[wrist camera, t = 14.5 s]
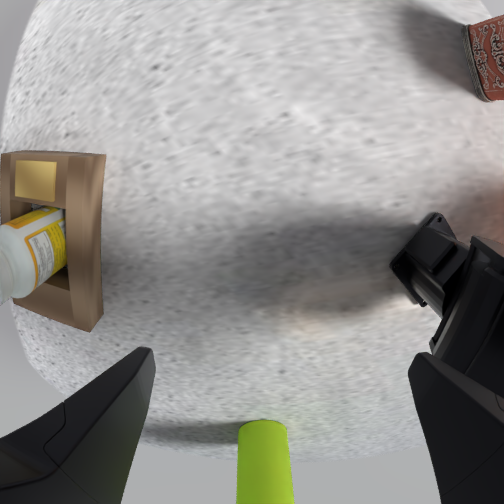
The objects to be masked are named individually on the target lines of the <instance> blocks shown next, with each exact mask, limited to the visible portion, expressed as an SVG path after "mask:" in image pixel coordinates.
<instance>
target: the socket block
mask: <svg viewBox="0 0 504 504" xmlns="http://www.w3.org/2000/svg"><path fill="white" fill-rule="evenodd" d="M105 162H106V155H104V154H92V153H78V152H60V151H32V150H22V151H15V152H9V153H3V154H1V164H0V211H1V225H2V224H5V223H7V222H9V221H11V220H14V219H16V218H18V217H20V216H23V215H25V214H27V213H30V212H31V203H34V204H39V205H45V206H51V207H57V208H63V209H66V248H67V264H68V270H67V269H64V268H61V269H60V270H58V271H57V272H56V273H55V274H53V275H52V276H51V277H50V278H48V279H47V280H46V281H45V282H43V283H42V284H41V285H40V286H38V287H37V288H36V289H35V290H34V291H33V292H31V293H30V294H29V295H27V296H26V297H23V298H13V297H12V298H13V302H14V304H16V305H19V306H21V307H23V308H25V309H28V310H30V311H33V312H35V313H37V314H40V315H42V316H45V317H47V318H50V319H53V320H55V321H58V322H61V323H63V324H66V325H69V326H72V327H75V328H77V329H80V330H83V331H86V332H89V333H90V332H91V330H92V329H93V328H94V326H95V325H96V323H97V322H98V321H99V319H100V318H101V317H102V315H103V314H104V313H103V300H102V284H101V210H102V194H103V181H104V171H105Z"/></svg>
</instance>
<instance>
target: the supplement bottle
mask: <svg viewBox="0 0 504 504" xmlns="http://www.w3.org/2000/svg"><path fill="white" fill-rule="evenodd" d="M66 264H67V248H66V209H63V208H57V207H51V206H45V207H42V208H40V209H37V210H35V211H32V212H30V213H27V214H25V215H23V216H20V217H18V218H16V219H14V220H11V221H9V222H7V223H5V224H2V225H0V305H2V304H3V303H4V302H5V301H7V300H8V299H9V298H10V297H13V298H23V297H26V296H27V295H29V294H30V293H31V292H33V291H34V290H35V289H36V288H37V287H38V286H40V285H41V284H42V283H43V282H45V281H46V280H47V279H48V278H50V277H51V276H52V275H53V274H55V273H56V272H57V271H58V270H60V269H61V268H62V267H64V266H65V265H66Z"/></svg>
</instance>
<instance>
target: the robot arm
mask: <svg viewBox="0 0 504 504" xmlns="http://www.w3.org/2000/svg"><path fill="white" fill-rule="evenodd" d="M438 217H439V220H438V221H437V219H438ZM470 243H471V245H470V247H468V246H467V245H465V244H463V243H462V242H460V241H458V240H457V239H456V237H455V235H454V233H453V232H452V230H451V228H450V226H449V225H448V223H447V221H446V220H445V218H444V216H443V215H442V214H440V213H435V214H434V215H433V217H432V218H431V219H430V220H429V221H428V222H427V223H426V225H425V226H423V228H422V229H421V230H420V231H419V232H418V233H417V234H416V235H415V237H414V238H413V239H412V240H411V241H410V242H409V243H408V244H407V245H406V247H405V248H404V249H403V250H402V251H401V252H400V253H399V254H398V255H397V256H396V258H395V259H394V260H393V261H392V262H391V263H390V269H391V270H392V271H393V273H394V274H395V275H396V276H397V277H398V279H399V280H400V281H401V282H402V283H403V285H404V286H405V287H406V288H407V290H408V291H409V292H410V293H411V295H412V296H413V297H414V298H415V300H416V301H417V302H418V303H419V305H420V306H421V307H425V306H426V305H427V304H428V305H429V306H430V307H431V308H432V309H433V310H434V311H435V312H436V313H437V314H438V315H439V317H440V318H441V319H442V321H441V323H440V325H439V327H438V329H437V331H436V333H435V335H434V337H432V338H431V340H430V342H429V345H430V349H431V352H432V355H431V354H429V353H428V352H422V353H418V354H416V356H415V358H414V360H413V362H412V364H411V366H410V368H409V370H408V378H409V382H410V386H411V390H412V394H413V398H414V403H415V407H416V410H417V414H418V417H419V420H420V423H421V426H422V429H423V433H424V436H425V439H426V443H427V446H428V449H429V453H430V457H431V461H432V464H433V468H434V472H435V476H436V481H437V485H438V489H439V493H440V499H441V504H504V244H501V243H498V242H495V241H492V240H488V239H485V238H482V237H478V236H475V235H472V238H471V241H470ZM396 264H397V267H396V268H394V266H395V265H396ZM424 300H425V301H424ZM423 301H424V302H423ZM155 372H156V367H155V361H154V355H153V351H152V349H151V348H147V347H138V348H136V349H135V350H134V351H132V352H131V353H130V354H128V355H127V356H125V357H124V358H123V359H121V360H120V361H119V362H117V363H116V364H114V365H113V366H112V367H110V368H109V369H108V370H106V371H105V372H103V373H102V374H101V375H99V376H98V377H96V378H95V379H94V380H92V381H91V382H90V383H88V384H87V385H85V386H84V387H83V388H81V389H80V390H78V391H77V392H76V393H74V394H73V395H71V396H70V397H69V398H67V399H66V400H65V401H64V402H62V403H60V404H59V405H57V406H56V407H54V408H53V409H52V410H50V411H48V412H47V413H46V414H44V415H42V416H41V417H39V418H37V419H36V420H34V421H32V422H30V423H29V424H27V425H25V426H23V427H21V428H19V429H17V430H15V431H14V432H12V433H10V434H8V435H6V436H4V437H2V438H0V504H121V500H122V497H123V493H124V489H125V485H126V482H127V478H128V475H129V471H130V468H131V465H132V461H133V457H134V454H135V451H136V448H137V445H138V441H139V438H140V435H141V432H142V429H143V425H144V422H145V419H146V416H147V412H148V408H149V402H150V397H151V392H152V387H153V382H154V377H155Z"/></svg>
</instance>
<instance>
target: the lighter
mask: <svg viewBox="0 0 504 504" xmlns="http://www.w3.org/2000/svg"><path fill="white" fill-rule="evenodd" d="M462 37H463V44H464V49H465V53H466V58H467V62H468V66H469V69H470V73H471V77H472V80H473V83H474V86H475V90H476V93H477V95H478V96H479V98H480V99H481V100H482V101H484V102H495V101H496V100H504V15H501V16H498V17H495V18H491V19H488V20H485V21H483V22H480V23H477V24H474V25H471V24H469V25H466V26H463V27H462Z"/></svg>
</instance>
